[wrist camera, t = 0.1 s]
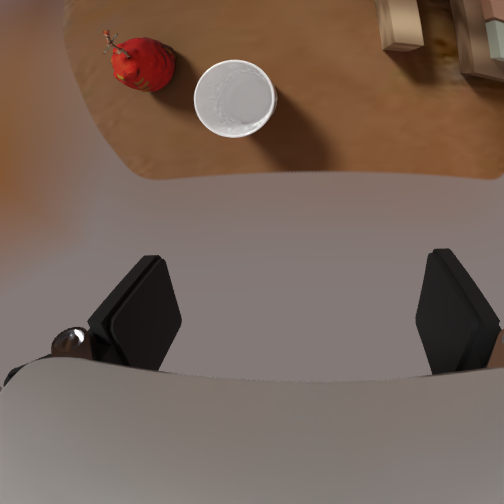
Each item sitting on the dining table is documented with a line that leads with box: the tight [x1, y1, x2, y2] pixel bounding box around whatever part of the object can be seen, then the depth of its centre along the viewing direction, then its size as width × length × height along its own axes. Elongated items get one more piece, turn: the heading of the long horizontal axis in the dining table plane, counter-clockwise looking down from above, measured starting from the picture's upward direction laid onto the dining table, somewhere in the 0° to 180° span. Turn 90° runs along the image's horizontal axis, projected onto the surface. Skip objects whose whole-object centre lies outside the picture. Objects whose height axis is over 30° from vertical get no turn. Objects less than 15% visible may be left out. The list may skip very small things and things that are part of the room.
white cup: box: [194, 60, 277, 138], centre depth 31 cm, size 8×8×10 cm
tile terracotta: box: [480, 0, 504, 23], centre depth 18 cm, size 5×5×2 cm
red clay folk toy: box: [103, 30, 176, 92], centre depth 28 cm, size 8×7×15 cm
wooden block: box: [449, 0, 504, 83], centre depth 22 cm, size 14×11×4 cm
